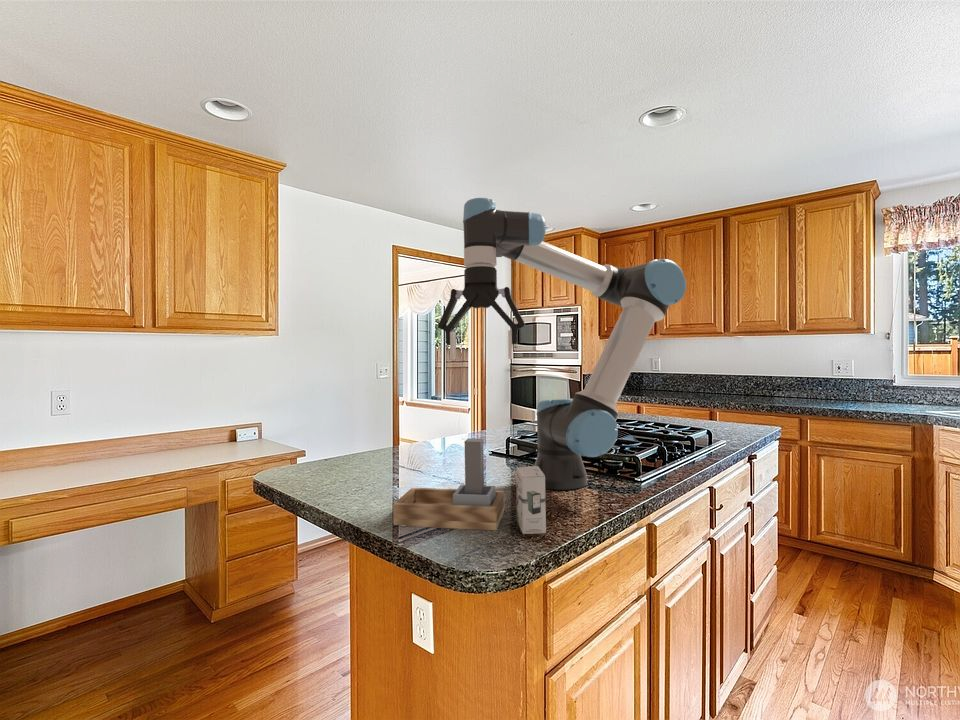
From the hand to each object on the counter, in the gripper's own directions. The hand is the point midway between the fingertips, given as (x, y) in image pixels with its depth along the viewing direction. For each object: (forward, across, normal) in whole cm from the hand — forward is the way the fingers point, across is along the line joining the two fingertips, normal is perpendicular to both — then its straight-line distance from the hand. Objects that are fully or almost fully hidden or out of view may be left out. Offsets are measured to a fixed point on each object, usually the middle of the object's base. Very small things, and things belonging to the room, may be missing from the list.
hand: (481, 359), depth 117 cm
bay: (+35, +6, +8) cm, 36 cm away
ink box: (+35, -12, +11) cm, 39 cm away
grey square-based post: (+33, +1, +8) cm, 34 cm away
